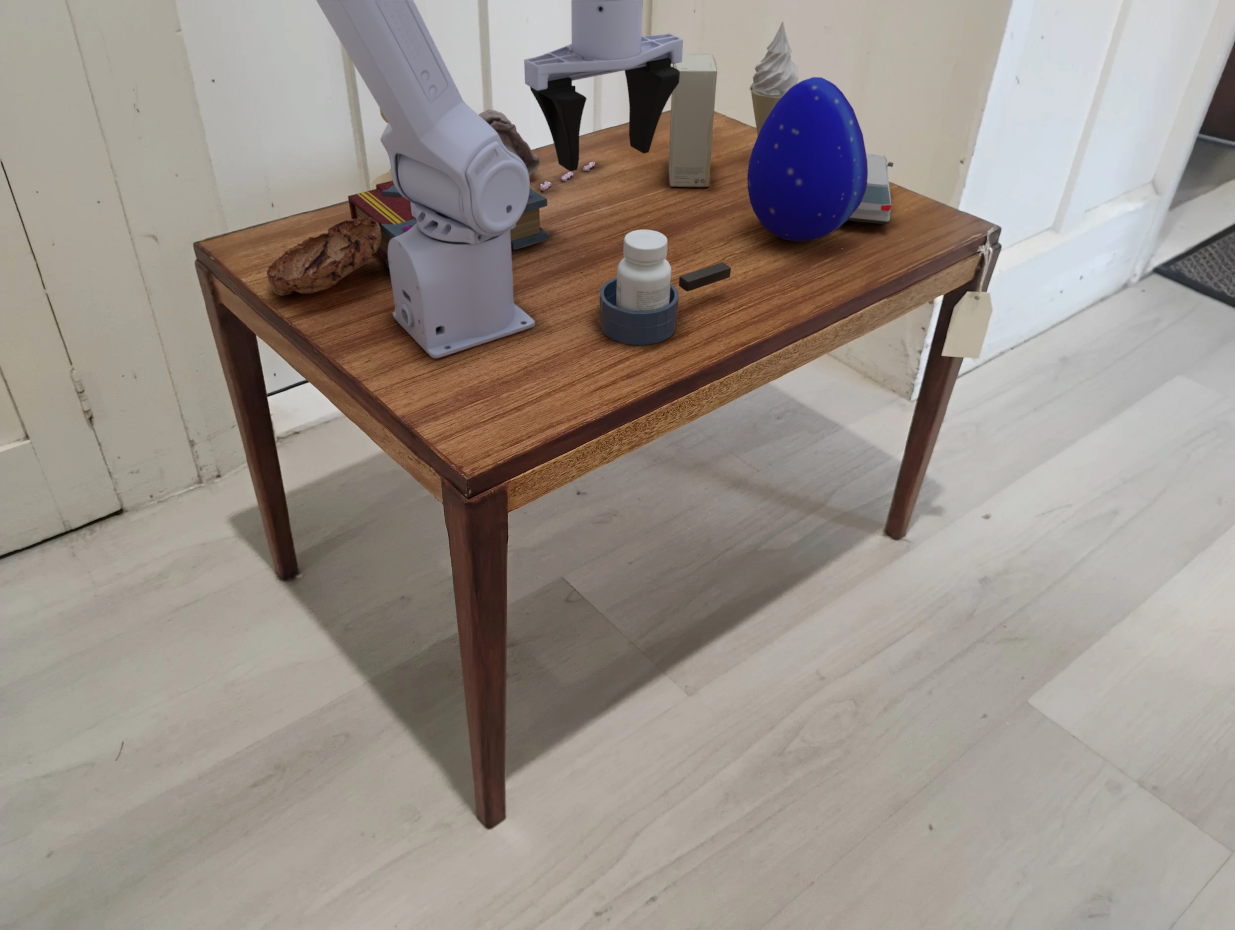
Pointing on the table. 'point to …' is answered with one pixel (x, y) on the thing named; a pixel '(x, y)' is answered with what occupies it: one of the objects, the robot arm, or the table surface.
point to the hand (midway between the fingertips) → (604, 157)
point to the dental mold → (511, 138)
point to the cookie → (325, 257)
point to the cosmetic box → (692, 121)
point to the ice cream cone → (773, 77)
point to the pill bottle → (643, 272)
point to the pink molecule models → (566, 176)
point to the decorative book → (398, 219)
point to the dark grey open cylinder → (636, 319)
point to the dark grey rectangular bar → (704, 276)
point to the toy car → (875, 193)
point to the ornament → (808, 163)
